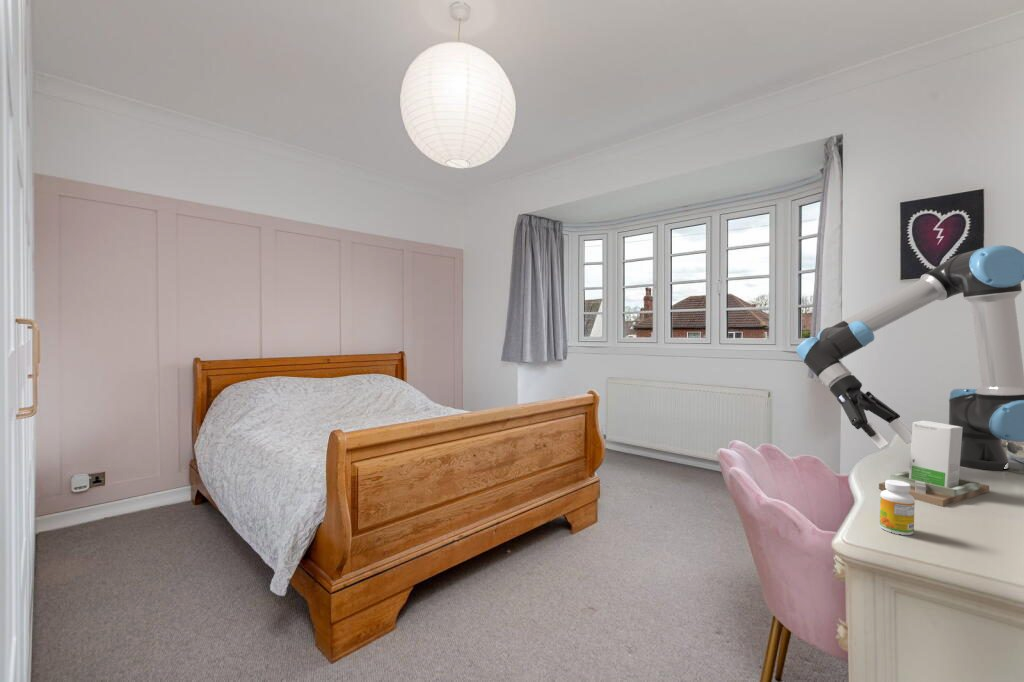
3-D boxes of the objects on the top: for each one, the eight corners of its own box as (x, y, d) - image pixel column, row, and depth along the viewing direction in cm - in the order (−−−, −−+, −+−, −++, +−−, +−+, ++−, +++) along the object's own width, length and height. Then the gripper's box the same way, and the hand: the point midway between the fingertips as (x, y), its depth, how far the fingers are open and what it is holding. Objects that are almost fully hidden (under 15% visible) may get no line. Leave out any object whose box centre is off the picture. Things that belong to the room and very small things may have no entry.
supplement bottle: (875, 523, 100) (876, 477, 100) (907, 527, 98) (908, 480, 98) (884, 533, 95) (886, 484, 95) (918, 537, 93) (919, 488, 93)
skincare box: (907, 481, 124) (909, 421, 123) (920, 478, 127) (922, 419, 126) (949, 491, 116) (950, 427, 116) (961, 487, 119) (963, 425, 119)
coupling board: (926, 477, 132) (926, 465, 132) (989, 491, 121) (989, 478, 121) (878, 489, 122) (879, 476, 122) (942, 506, 110) (943, 492, 110)
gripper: (854, 387, 149) (910, 446, 136) (805, 391, 138) (861, 455, 125) (874, 372, 144) (933, 431, 131) (825, 375, 133) (885, 440, 120)
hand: (898, 443), depth 128 cm, fingers open, 13 cm apart
